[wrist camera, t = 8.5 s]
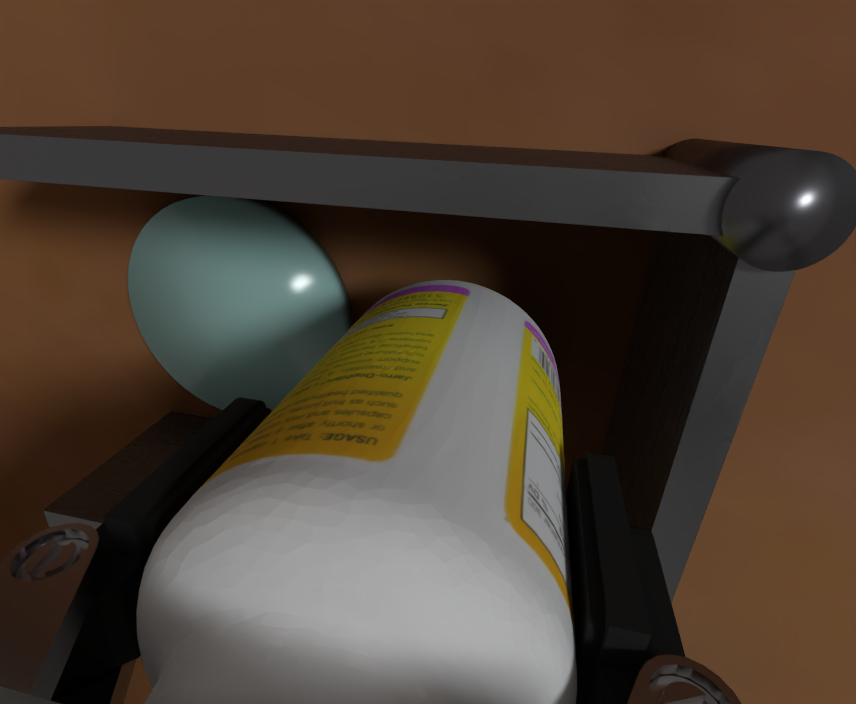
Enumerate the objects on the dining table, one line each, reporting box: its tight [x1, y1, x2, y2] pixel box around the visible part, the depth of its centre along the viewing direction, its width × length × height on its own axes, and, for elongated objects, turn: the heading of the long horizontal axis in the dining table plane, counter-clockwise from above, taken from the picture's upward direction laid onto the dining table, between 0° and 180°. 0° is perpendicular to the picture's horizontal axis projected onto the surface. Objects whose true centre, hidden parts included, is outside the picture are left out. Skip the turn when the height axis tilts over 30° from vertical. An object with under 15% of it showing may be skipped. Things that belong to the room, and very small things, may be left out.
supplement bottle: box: [136, 280, 577, 704], centre depth 10 cm, size 7×7×13 cm
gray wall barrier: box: [0, 126, 856, 602], centre depth 19 cm, size 20×28×7 cm
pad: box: [128, 195, 352, 411], centre depth 19 cm, size 9×9×1 cm
